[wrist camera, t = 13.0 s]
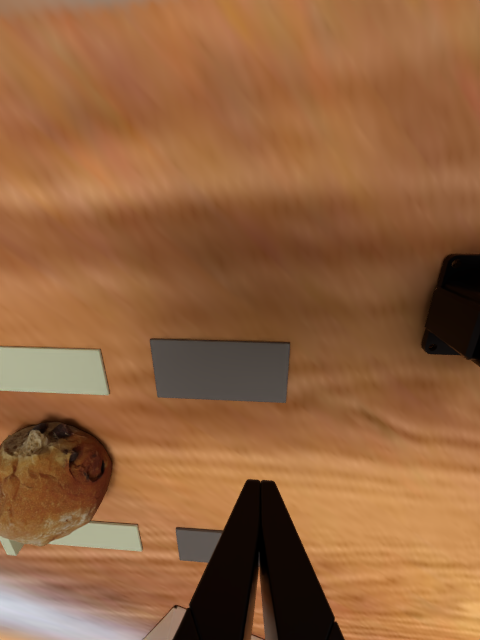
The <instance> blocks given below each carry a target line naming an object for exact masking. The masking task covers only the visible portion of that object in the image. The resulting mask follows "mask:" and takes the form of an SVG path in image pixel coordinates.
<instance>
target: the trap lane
mask: <svg viewBox="0 0 480 640" xmlns="http://www.w3.org/2000/svg"><path fill="white" fill-rule="evenodd" d="M150 345H151V352H152V359H153V367H154V374H155V381H156V389H157V396H158V397H163V398H186V399H210V400H233V401H256V402H279V403H286V395H287V380H288V366H289V352H290V343H281V342H246V341H211V340H176V339H150ZM0 391H23V392H46V393H70V394H93V395H109V394H110V392H109V388H108V383H107V378H106V373H105V369H104V364H103V359H102V355H101V350H100V349H74V348H43V347H11V346H0ZM222 532H223V531H216V530H203V529H189V528H176V535H177V543H178V550H179V557H180V560H184V561H196V562H208V563H209V560H210V558H211V556H212V554H213V552H214V550H215V547H216V545H217V543H218V541H219V539H220V537H221V534H222ZM0 541H1V543H2V545H3V547H4V549H5V551H6V553H7V555H15V556H16V555H17V554H18V553H19V551H20V550H21V548H22V547H23V546H24V543H20V542H16V541H13V540H10V539H7V538H3V537H1V536H0ZM48 544H57V545H69V546H82V547H94V548H106V549H119V550H131V551H142V550H143V548H142V543H141V539H140V534H139V529H138V525H136V524H122V523H109V522H96V521H90V522H89V523H88V524H86V525H84V526H82V527H80V528H78V529H77V530H75V531H73V532H72V533H71V534H69V535H67V536H65V537H63V538H60V539H56V540H54V541H51V542H50V543H48Z"/></svg>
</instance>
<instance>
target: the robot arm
mask: <svg viewBox="0 0 480 640" xmlns="http://www.w3.org/2000/svg"><path fill="white" fill-rule="evenodd" d="M454 260H457V263H456V265H454V266H452V262H453V261H454ZM425 327H426V330H425V334H424V338H423V342H422V349H423V350H424V351H425V352H427V353H428V354H441V355H462V356H463V357H464V358H466V359H468V360H472V361H473V362H474V363H476V364H477V365H478V366H480V254H451V255H449V256H447V258H446V259H445V260H444V262H443V266H442V270H441V273H440V277H439V281H438V285H437V288H436V290H435V291H434V293H433V297H432V301H431V305H430V308H429V312H428V316H427V320H426V324H425ZM431 344H434V345H433V347H431V348H429V346H430V345H431ZM259 568H260V583H261V594H262V606H263V618H264V629H265V640H345V639H344V637H343V635H342V632H341V630H340V628H339V626H338V623H337V622H336V621H335V617H334V615H333V612H332V610H331V608H330V606H329V603H328V601H327V599H326V596H325V594H324V592H323V590H322V587H321V585H320V583H319V581H318V578H317V576H316V574H315V572H314V569H313V567H312V565H311V563H310V560H309V558H308V556H307V554H306V551H305V549H304V547H303V544H302V542H301V540H300V538H299V535H298V533H297V531H296V529H295V526H294V524H293V522H292V520H291V517H290V515H289V513H288V511H287V508H286V506H285V504H284V502H283V499H282V497H281V495H280V492H279V490H278V488H277V486H276V484H275V482H274V481H269V480H262V481H261V484H260V481H259V480H252V479H248V480H247V481H246V482H245V485H244V487H243V489H242V491H241V493H240V495H239V498H238V500H237V502H236V504H235V506H234V508H233V511H232V513H231V515H230V517H229V519H228V521H227V524H226V526H225V528H224V530H223V532H222V534H221V537H220V539H219V541H218V543H217V545H216V547H215V550H214V552H213V554H212V556H211V558H210V560H209V563H208V565H207V567H206V569H205V571H204V573H203V576H202V578H201V580H200V582H199V584H198V586H197V588H196V591H195V593H194V595H193V597H192V599H191V601H190V604H189V608H187V610H186V612H185V614H184V616H183V618H182V621H181V623H180V625H179V627H178V629H177V631H176V633H175V635H174V637H173V639H172V640H251V635H252V626H253V617H254V608H255V599H256V590H257V581H258V570H259ZM334 621H335V622H334Z"/></svg>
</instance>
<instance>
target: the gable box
mask: <svg viewBox="0 0 480 640" xmlns="http://www.w3.org/2000/svg"><path fill="white" fill-rule="evenodd" d="M186 610H187V609H184V608H182V607H179V606H177V607H176V606H175V607H174V608H173V609H172V610H171V611H170V612H169V613H168V614H167V615H166V616H165V617H164V618H163V619H162V620H161V621H160V623H159V624H158V625H157V626H156V627H155V628H154V629H153V630H152V631H151V632H150V633H149V634H148V635H147V636H146V638H145V639H144V640H172V639H173V637H174V635H175V633H176V631H177V629H178V627H179V625H180V623H181V621H182V618H183V616H184V614H185V612H186ZM251 640H264V639H261V638H259V637H256V636H254V635H251Z"/></svg>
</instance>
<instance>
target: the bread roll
mask: <svg viewBox="0 0 480 640" xmlns="http://www.w3.org/2000/svg"><path fill="white" fill-rule="evenodd" d="M111 470H112V463H111V460H110V458H109V455H108V453H107V452H106V450H105V448H104V447H103V445H102V444H101V443H100V442H99V441H98V440H96V439H95V438H94V437H93V436H92V435H90V434H88V433H86V432H83V431H81V430H79V429H77V428H75V427H74V426H70V425H66V424H63V423H61V422H52V423H47V422H46V423H41V424H39V425H35V426H30V427H26V428H24V429H22V430H20V431H18V432H16V433H14V434H13V435H9V436H8V437H7V438H6V439H5V440H4V441H3V443H2V444H1V445H0V536H1V537H3V538H7V539H10V540H13V541H16V542H20V543H24V544H32V545H36V546H45V545H47V544H48V543H50V542H51V541H54V540H56V539H60V538H63V537H65V536H67V535H69V534H71V533H72V532H73V531H75V530H77V529H78V528H80V527H82V526H84V525H86V524H88V523H89V522H90V521H91V519H92V518H93V516H94V514H95V513H96V511H97V509H98V508H99V506H100V504H101V502H102V500H103V497H104V495H105V493H106V491H107V487H108V484H109V481H110V476H111Z"/></svg>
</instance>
